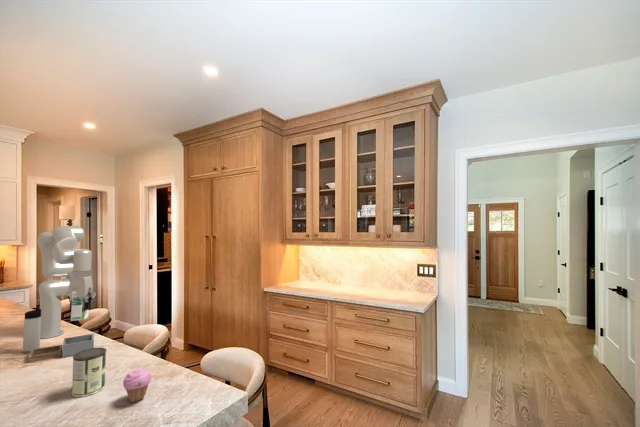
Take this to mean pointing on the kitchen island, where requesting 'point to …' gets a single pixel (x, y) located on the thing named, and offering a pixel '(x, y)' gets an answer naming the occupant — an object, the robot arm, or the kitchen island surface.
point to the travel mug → (32, 330)
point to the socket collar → (45, 356)
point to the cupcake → (137, 384)
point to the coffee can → (88, 372)
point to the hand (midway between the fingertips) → (80, 309)
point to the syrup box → (78, 308)
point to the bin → (77, 344)
